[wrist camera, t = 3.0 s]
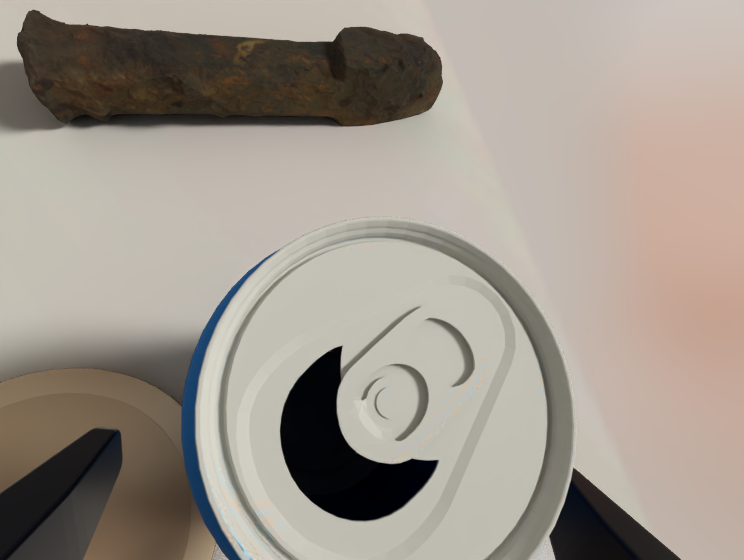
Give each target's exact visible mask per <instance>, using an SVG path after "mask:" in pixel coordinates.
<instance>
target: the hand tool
mask: <svg viewBox="0 0 744 560" xmlns="http://www.w3.org/2000/svg"><path fill="white" fill-rule="evenodd" d="M17 47H18V50H19V52H20V54H21V56H22V58H23V62H24V66H25V72H26V75H27V76H28V80H29V85H30V87H31V89H32V91H33V93H34V94H35V95H36V97H37V99H38V100H39V101H40V102H41V103H42V104H43V105H44V106H46V107H47V108H48V109H49V110H50V111H51V112H52V113H53V114H54V116H55V117H56V118H57V119H58V120H60V121H61V122H64V123H69V122H70V121H71V120H73V119H74V118H76V117H78V116H80V115H85V114H88V115H90V116H91V117H93V118H95V119H98V120H100V121H103V122H105V123H106V122H107V121H108V120H109V119H110V118H111V117H112V116H113V115H116V114H152V115H158V114H213V115H216V116H218V117H221V118H225V117H227V116H230V115H248V116H263V115H274V116H329V117H331V118H333V119H334V120H335V121H336V122H337V123H338V124H340V125H341V126H363V125H373V124H378V123H383V122H388V121H393V120H397V119H401V118H405V117H409V116H413V115H416V114H419V113H422V112H426V111H428V110H429V109H430V108H431V107H432V106H433V104H434V103H435V101H436V99H437V97H438V95H439V93H440V90H441V87H442V84H443V80H442V76H441V74H442V64H441V60H440V57H439V55H438V54H437V52H436V51H435V50H433V49H432V47H431V46H429V45H428V44H427V43H426V42H425V41H424V39H423V38H422V37H418V36H414V35H410V34H398V35H397V34H393V33H390V32H387V31H380V30H377V29H373V28H369V27H349V28H344V29H343V30H342V31H340V32H339V34H338V35H337V37H336V38H335V40H334V41H333V42H294V41H290V40H273V39H260V38H247V37H231V36H216V35H206V34H204V35H202V34H198V35H197V34H188V33H176V32H169V31H161V30H160V31H159V30H157V31H152V30H151V31H144V30H139V29H121V28H114V27H109V26H105V27H99V26H92V25H88V24H87V25H69V24H65V23H62V22H59V21H55V20H52V19H50V18H49V17H47V16H45V15H43V14H41V13H40V11H36V10H32V11H29V12H28V13H27V15H26V18H25V20H24V22H23V27H22V30H21V32H19V33H18V37H17Z"/></svg>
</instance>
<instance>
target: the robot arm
mask: <svg viewBox="0 0 744 560" xmlns="http://www.w3.org/2000/svg"><path fill="white" fill-rule="evenodd" d="M122 461H123V455H122V439H121V432H120V430H119V429H116V428H106V427H96V428H93V429H91V430H89V431H88V432H86V433H85V434H83V435H82V436H81V437H79V438H78V439H76V440H75V441H73V442H72V443H71V444H69V445H68V446H66V447H65V448H63V449H62V450H61V451H59V452H58V453H56V454H55V455H53V456H52V457H51V458H49V459H48V460H46V461H45V462H43V463H42V464H41V465H39V466H38V467H36V468H35V469H33V470H32V471H31V472H29V473H28V474H26V475H25V476H23V477H22V478H21V479H19V480H18V481H16V482H15V483H13V484H12V485H10V486H9V487H8V488H6V489H5V490H3V491H2V492H0V560H83V558H84V556H85V554H86V552H87V549H88V547H89V545H90V542H91V540H92V537H93V535H94V533H95V530H96V528H97V525H98V523H99V521H100V518H101V516H102V514H103V511H104V509H105V506H106V504H107V502H108V499H109V497H110V494H111V492H112V490H113V487H114V485H115V482H116V480H117V478H118V475H119V473H120V470H121V467H122ZM549 538H550V541H551V545H552V548H553V552H554V555H555V559H556V560H681V559H680V558H679V557H678V556H676V555H675V554H674V553H673V552H671V550H669V549H668V548H667V547H666V546H665V545H664V544H662V543H661V542H660V541H659V540H658V539H657V538H655V537H654V536H653V535H652V534H651V533H650V532H648V531H647V530H646V529H645V528H644V527H643V526H641V525H640V524H639V523H638V522H637V521H635V520H634V519H633V518H632V517H631V516H630V515H628V514H627V513H626V512H625V511H624V510H623V509H621V508H620V507H619V506H618V505H617V504H616V503H614V502H613V501H612V500H611V499H610V498H609V497H607V496H606V495H605V494H604V493H603V492H602V491H600V490H599V489H598V488H597V487H596V486H595V485H593V484H592V483H591V482H590V481H589V480H588V479H586V478H585V477H584V476H583V475H582V474H581V473H579V472H578V471H577V470H576V469H574V468H573V471H572V477H571V481H570V484H569V488H568V492H567V495H566V499H565V502H564V505H563V507H562V510H561V512H560V514H559V517H558V519H557V522H556V524H555V526H554V528H553V530H552V532H551V534H550V535H549Z"/></svg>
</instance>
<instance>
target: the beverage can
mask: <svg viewBox="0 0 744 560" xmlns="http://www.w3.org/2000/svg"><path fill="white" fill-rule="evenodd" d="M576 429H577V425H576V410H575V399H574V393H573V388H572V382H571V377H570V373H569V370H568V366H567V363H566V359H565V356H564V353H563V351H562V348H561V346H560V343H559V341H558V338H557V336H556V333H555V332H554V330H553V328H552V326H551V324H550V322H549V320H548V318H547V316H546V314H545V313H544V311H543V310H542V308H541V307H540V305H539V304H538V302H537V301H536V299H535V298H534V296H533V295H532V294H531V292H530V291H529V290H528V289H527V288H526V286H525V285H524V284H523V283H522V282H521V280H520V279H519V278H518V277H517V276H516V275H515V274H514V273H513V272H512V271H511V270H510V269H509V268H508V267H507V266H506V265H505V264H504V263H502V262H501V261H500V260H499V259H497V258H496V257H495V256H493V255H492V254H491V253H490V252H488V251H487V250H486V249H484V248H482V247H481V246H479V245H478V244H476V243H474V242H473V241H471V240H469V239H468V238H466V237H463V236H461V235H459V234H457V233H455V232H453V231H451V230H448V229H446V228H443V227H440V226H437V225H434V224H431V223H427V222H422V221H418V220H413V219H408V218H397V217H365V218H358V219H352V220H345V221H342V222H338V223H335V224H331V225H328V226H324V227H322V228H319V229H317V230H315V231H312V232H310V233H308V234H305V235H303V236H301V237H300V238H298V239H296V240H294V241H293V242H291V243H289V244H288V245H286V246H284V247H283V248H281V249H280V250H278V251H276V252H274V253H273V254H271V255H269V256H268V257H266V258H265V259H264V260H262V261H261V262H260V263H259V264H257V265H256V266H255V267H253V268H252V269H251V270H249V271H248V272H247V273H246V274H245V275H244V276H243V277H242V278H241V279H240V280H239V281H238V282H237V283H236V284H235V285H234V286H233V287H232V288H231V290H230V291H229V292H228V294H227V295H226V296H225V298H224V299H223V300H222V301H221V303H220V304H219V305H218V307H217V308H216V310H215V311H214V313H213V315H212V316H211V318H210V320H209V322H208V323H207V325H206V327H205V328H204V330H203V332H202V335H201V337H200V339H199V342H198V344H197V346H196V349H195V351H194V354H193V356H192V360H191V363H190V367H189V371H188V374H187V378H186V381H185V388H184V395H183V402H182V409H181V442H182V449H183V456H184V464H185V470H186V474H187V477H188V481H189V484H190V488H191V491H192V495H193V498H194V501H195V503H196V505H197V507H198V510H199V512H200V514H201V516H202V519H203V521H204V523H205V525H206V527H207V529H208V530H209V532H210V533H211V535H212V536H213V538H214V540H215V541H216V543H217V544H218V546H219V547H220V549H221V551H222V552H223V553H224V554H225V556H226V557H227V558H228V559H229V560H534V559H535V557H536V556H537V555H538V554H539V552H540V551H541V549H542V548H543V546H544V544H545V542H546V541H547V539H548V537H549V535H550V534H551V532H552V530H553V528H554V526H555V524H556V522H557V519H558V517H559V514H560V512H561V510H562V507H563V505H564V502H565V499H566V495H567V492H568V488H569V484H570V481H571V477H572V471H573V465H574V458H575V452H576Z"/></svg>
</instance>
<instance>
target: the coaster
mask: <svg viewBox="0 0 744 560" xmlns="http://www.w3.org/2000/svg"><path fill="white" fill-rule="evenodd" d="M181 409H182V406H181V405H180V404H179V403H178V402H176V401H175V400H174V399H173V398H172V397H170V396H169V395H167V394H166V393H164V392H163V391H161V390H160V389H158V388H157V387H155V386H153V385H151V384H148V383H146V382H144V381H142V380H140V379H137V378H133V377H130V376H127V375H124V374H120V373H116V372H111V371H105V370H99V369H86V368H66V369H52V370H46V371H41V372H35V373H30V374H26V375H22V376H19V377H15V378H12V379H9V380H5V381H3V382H0V492H2V491H3V490H5V489H6V488H8V487H9V486H10V485H12V484H13V483H15V482H16V481H18V480H19V479H21V478H22V477H23V476H25V475H26V474H28V473H29V472H31V471H32V470H33V469H35V468H36V467H38V466H39V465H41V464H42V463H43V462H45V461H46V460H48V459H49V458H51V457H52V456H53V455H55V454H56V453H58V452H59V451H61V450H62V449H63V448H65V447H66V446H68V445H69V444H71V443H72V442H73V441H75V440H76V439H78V438H79V437H81V436H82V435H83V434H85V433H86V432H88V431H89V430H91V429H93V428H96V427H106V428H116V429H119V430H120V432H121V439H122V455H123V461H122V467H121V470H120V473H119V475H118V478H117V480H116V482H115V485H114V487H113V490H112V492H111V494H110V497H109V499H108V502H107V504H106V506H105V509H104V511H103V514H102V516H101V518H100V521H99V523H98V525H97V528H96V530H95V533H94V535H93V537H92V540H91V542H90V545H89V547H88V549H87V552H86V554H85V556H84V558H83V560H212V556H213V553H214V549H215V545H216V541H215V540H214V538H213V536H212V535H211V533H210V532H209V530H208V529H207V527H206V525H205V523H204V521H203V519H202V516H201V514H200V512H199V510H198V507H197V505H196V503H195V501H194V498H193V495H192V491H191V488H190V484H189V481H188V477H187V474H186V470H185V464H184V456H183V449H182V442H181Z"/></svg>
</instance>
